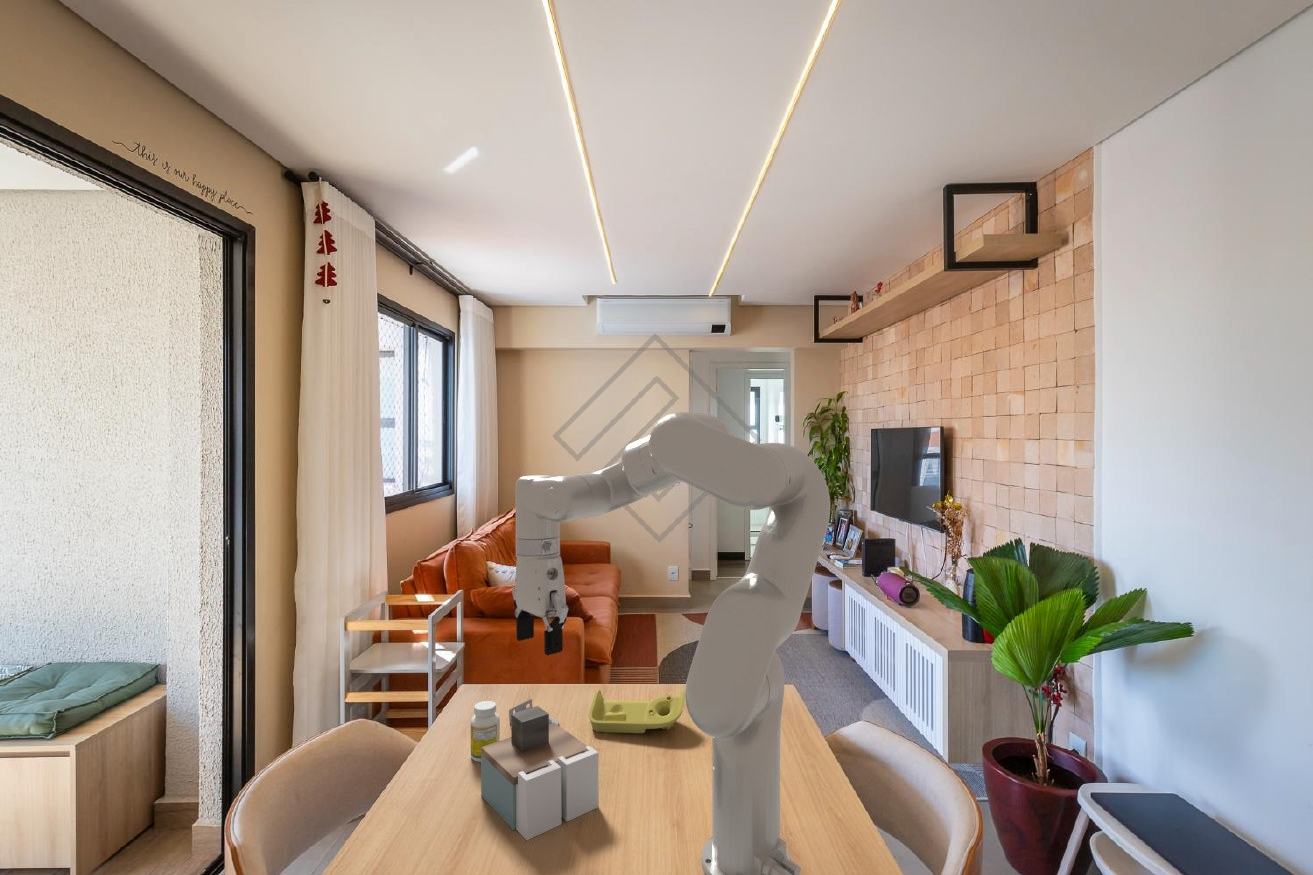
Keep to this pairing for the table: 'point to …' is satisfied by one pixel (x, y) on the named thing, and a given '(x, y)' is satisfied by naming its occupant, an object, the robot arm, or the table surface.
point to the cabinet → (543, 793)
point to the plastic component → (635, 714)
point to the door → (531, 745)
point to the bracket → (523, 707)
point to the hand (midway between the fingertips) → (538, 645)
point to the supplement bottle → (484, 728)
